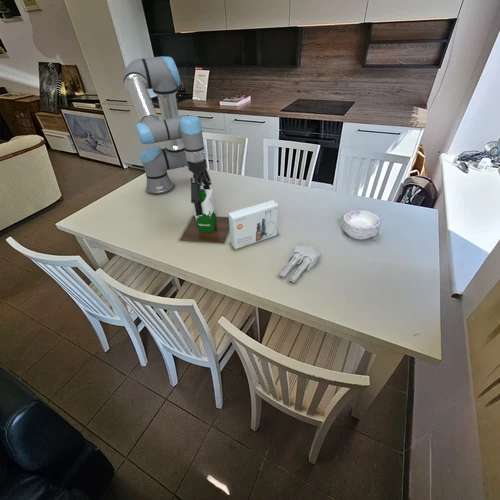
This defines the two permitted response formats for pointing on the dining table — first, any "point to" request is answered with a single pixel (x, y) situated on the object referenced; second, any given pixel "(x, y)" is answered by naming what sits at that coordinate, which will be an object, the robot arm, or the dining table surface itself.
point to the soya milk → (206, 212)
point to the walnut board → (215, 237)
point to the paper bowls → (361, 224)
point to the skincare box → (253, 224)
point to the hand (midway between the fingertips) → (204, 206)
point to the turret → (301, 260)
